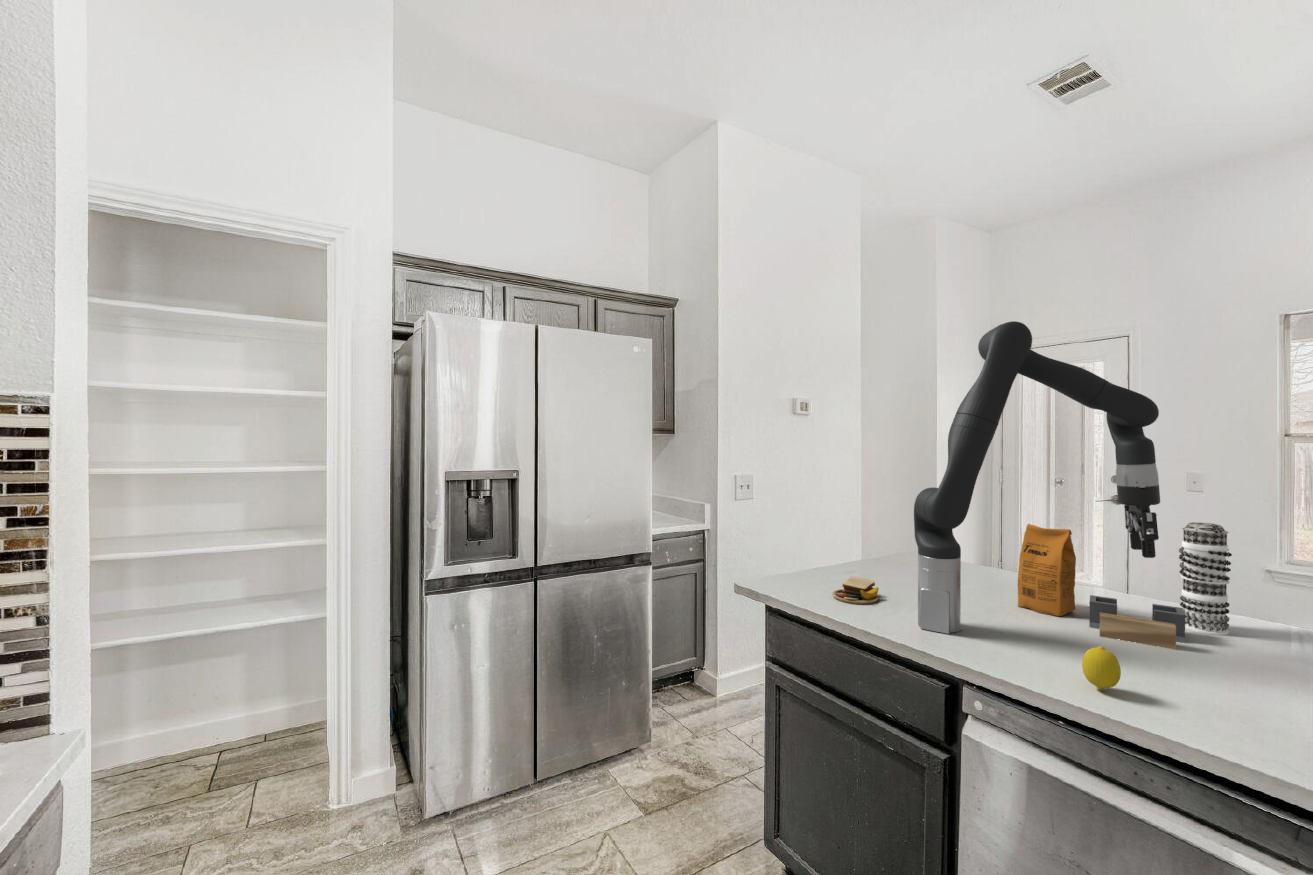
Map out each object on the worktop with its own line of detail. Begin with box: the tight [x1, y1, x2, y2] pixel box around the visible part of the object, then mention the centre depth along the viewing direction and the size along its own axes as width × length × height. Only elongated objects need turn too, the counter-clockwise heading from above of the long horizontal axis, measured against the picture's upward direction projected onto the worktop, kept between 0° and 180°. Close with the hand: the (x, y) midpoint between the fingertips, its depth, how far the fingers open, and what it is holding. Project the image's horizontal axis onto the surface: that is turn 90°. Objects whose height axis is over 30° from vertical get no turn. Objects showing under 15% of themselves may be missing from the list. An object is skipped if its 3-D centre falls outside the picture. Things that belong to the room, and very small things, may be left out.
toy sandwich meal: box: [831, 576, 880, 605], centre depth 162 cm, size 12×14×5 cm
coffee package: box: [1017, 523, 1077, 617], centre depth 152 cm, size 10×12×22 cm
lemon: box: [1081, 645, 1122, 691], centre depth 104 cm, size 6×6×8 cm
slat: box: [1099, 612, 1177, 651], centre depth 129 cm, size 3×13×5 cm, turn 52°
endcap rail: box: [1088, 594, 1186, 644], centre depth 136 cm, size 8×17×6 cm, turn 52°
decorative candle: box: [1178, 522, 1233, 636], centre depth 136 cm, size 9×9×25 cm
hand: (1142, 553), depth 132 cm, fingers open, 8 cm apart
